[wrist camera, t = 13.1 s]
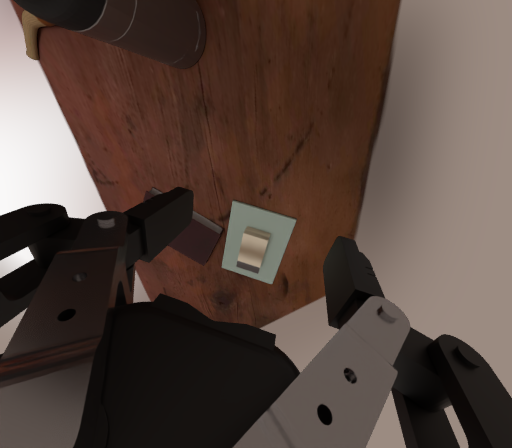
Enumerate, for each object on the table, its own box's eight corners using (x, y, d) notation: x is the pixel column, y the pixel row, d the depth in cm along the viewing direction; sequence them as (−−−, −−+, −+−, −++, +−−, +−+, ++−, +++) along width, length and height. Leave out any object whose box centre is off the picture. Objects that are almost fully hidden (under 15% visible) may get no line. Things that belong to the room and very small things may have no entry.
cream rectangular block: (247, 226, 44) (243, 233, 41) (270, 233, 43) (268, 240, 41) (239, 258, 49) (236, 266, 46) (260, 265, 48) (258, 273, 46)
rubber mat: (222, 265, 52) (221, 267, 52) (233, 199, 42) (232, 200, 41) (272, 282, 51) (271, 284, 51) (296, 218, 41) (296, 220, 40)
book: (208, 260, 53) (202, 268, 51) (145, 224, 52) (136, 230, 49) (225, 227, 47) (220, 234, 44) (154, 186, 46) (144, 190, 43)
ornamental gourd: (100, -2, 31) (60, -24, 26) (59, 84, 39) (23, 79, 34) (62, -56, 28) (10, -92, 24) (27, 47, 37) (-17, 36, 32)
